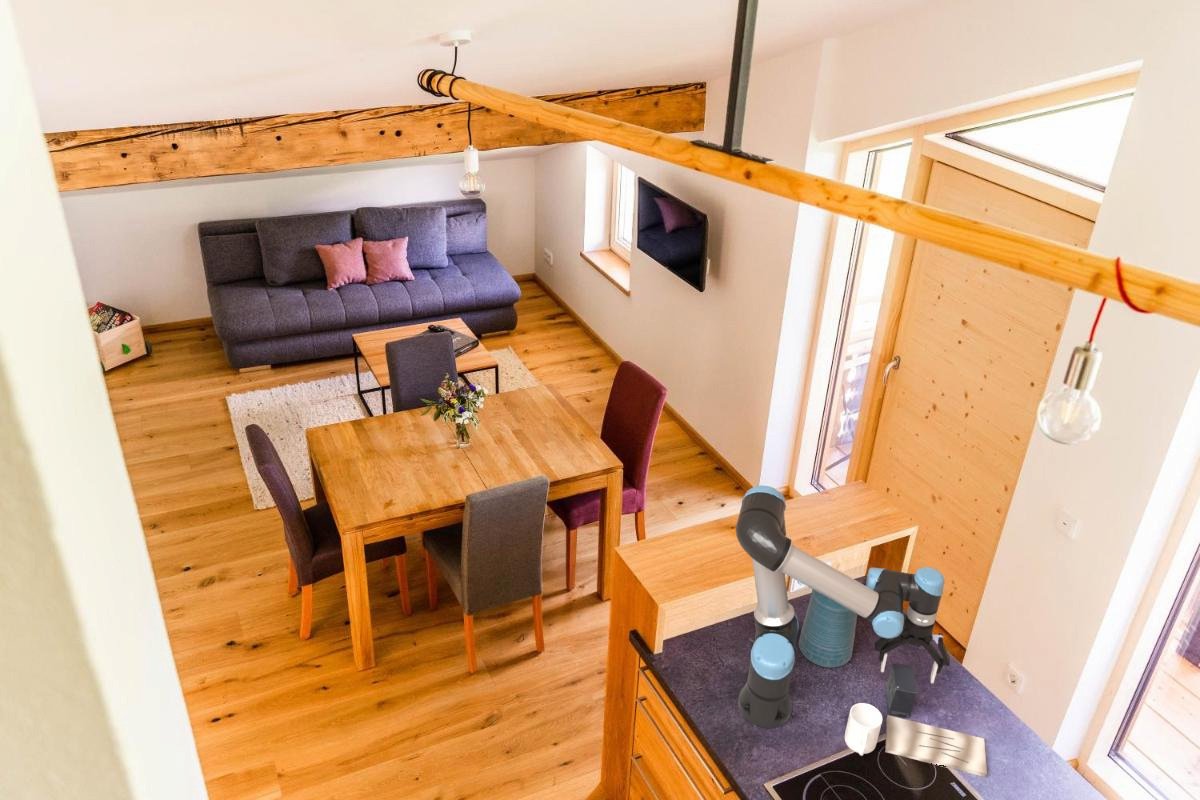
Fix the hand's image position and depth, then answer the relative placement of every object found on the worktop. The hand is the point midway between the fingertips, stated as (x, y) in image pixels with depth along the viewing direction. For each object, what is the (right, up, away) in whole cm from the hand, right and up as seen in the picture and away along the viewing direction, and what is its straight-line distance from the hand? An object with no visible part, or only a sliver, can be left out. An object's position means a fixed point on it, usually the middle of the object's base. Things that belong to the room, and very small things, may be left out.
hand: (906, 674), depth 253 cm
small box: (-1, -11, +6) cm, 12 cm away
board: (+5, -18, -8) cm, 20 cm away
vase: (-17, 0, +24) cm, 29 cm away
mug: (-16, -18, -8) cm, 25 cm away
